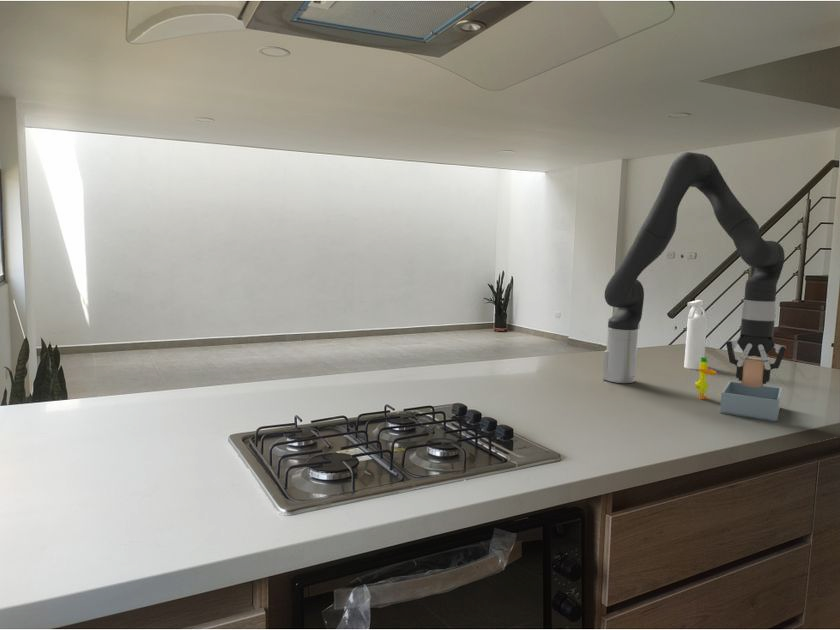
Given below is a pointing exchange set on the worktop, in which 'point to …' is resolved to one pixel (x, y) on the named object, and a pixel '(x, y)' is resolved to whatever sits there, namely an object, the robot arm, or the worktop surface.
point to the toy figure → (703, 377)
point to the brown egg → (753, 372)
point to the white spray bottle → (695, 335)
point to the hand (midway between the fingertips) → (752, 381)
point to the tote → (751, 401)
